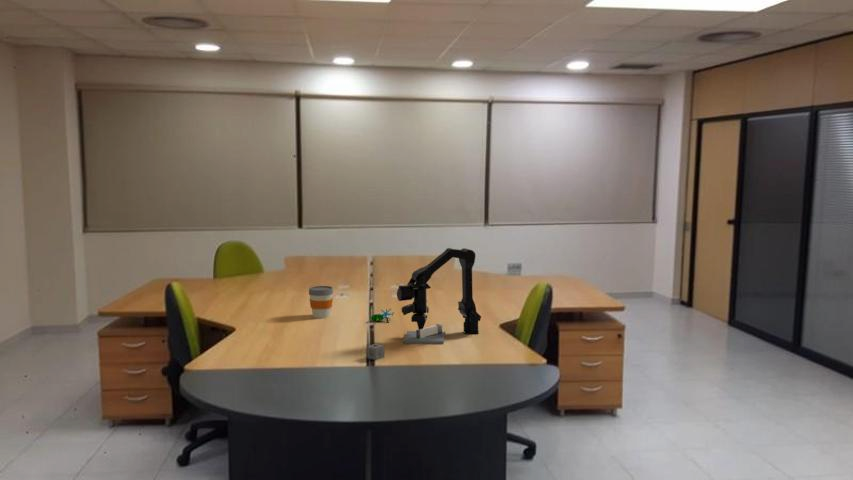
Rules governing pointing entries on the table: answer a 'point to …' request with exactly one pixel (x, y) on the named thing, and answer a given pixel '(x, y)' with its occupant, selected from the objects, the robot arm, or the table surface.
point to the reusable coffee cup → (321, 301)
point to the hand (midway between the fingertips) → (420, 332)
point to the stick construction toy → (380, 316)
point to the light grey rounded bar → (429, 331)
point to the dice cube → (375, 351)
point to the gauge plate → (424, 338)
